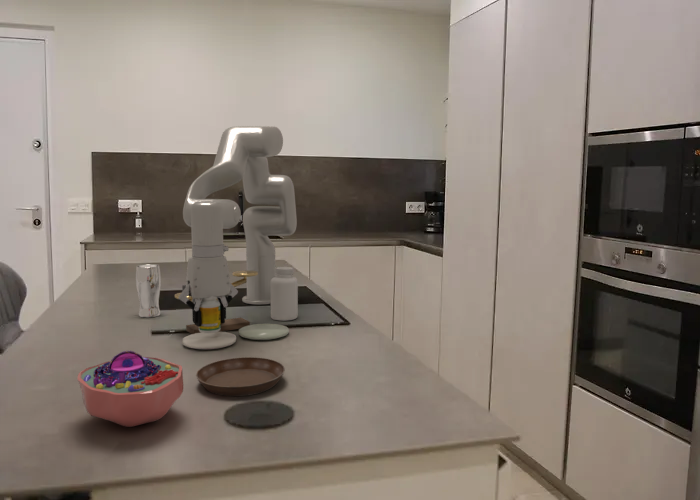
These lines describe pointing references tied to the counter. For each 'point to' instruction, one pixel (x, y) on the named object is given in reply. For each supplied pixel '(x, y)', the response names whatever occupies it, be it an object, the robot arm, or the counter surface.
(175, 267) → the counter surface
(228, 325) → the brass balance
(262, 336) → the pale green dish
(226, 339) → the cream dish
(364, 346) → the counter surface
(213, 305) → the supplement bottle
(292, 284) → the pill bottle
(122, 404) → the cell model
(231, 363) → the plant saucer
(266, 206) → the robot arm
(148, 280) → the beer glass
